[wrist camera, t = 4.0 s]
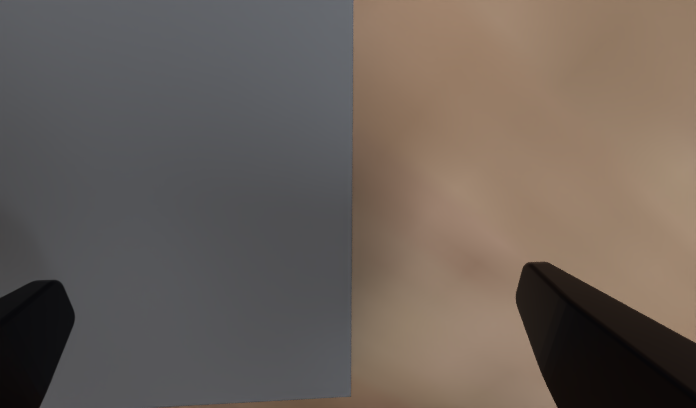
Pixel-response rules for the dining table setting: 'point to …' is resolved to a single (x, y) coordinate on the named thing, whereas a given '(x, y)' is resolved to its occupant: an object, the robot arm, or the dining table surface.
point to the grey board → (183, 194)
